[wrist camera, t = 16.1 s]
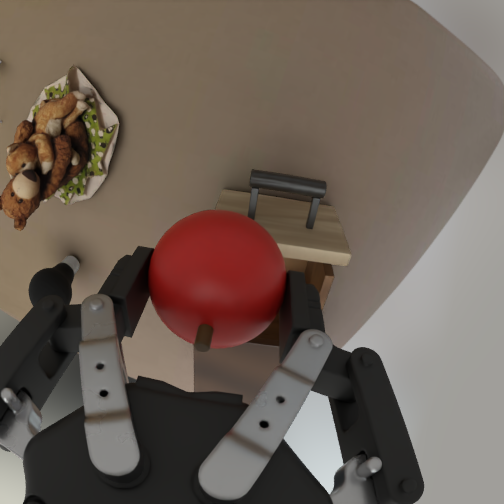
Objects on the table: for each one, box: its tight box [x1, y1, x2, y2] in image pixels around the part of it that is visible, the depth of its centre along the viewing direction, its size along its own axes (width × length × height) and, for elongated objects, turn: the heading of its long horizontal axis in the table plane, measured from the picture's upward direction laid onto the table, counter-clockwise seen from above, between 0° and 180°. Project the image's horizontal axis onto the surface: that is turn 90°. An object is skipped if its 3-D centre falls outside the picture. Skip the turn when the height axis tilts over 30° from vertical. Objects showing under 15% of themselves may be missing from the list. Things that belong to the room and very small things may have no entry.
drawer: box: [215, 169, 351, 341], centre depth 30 cm, size 18×11×9 cm, turn 172°
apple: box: [148, 210, 287, 352], centre depth 14 cm, size 6×6×7 cm
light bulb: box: [29, 256, 79, 306], centre depth 34 cm, size 6×6×10 cm
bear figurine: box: [0, 65, 119, 231], centre depth 24 cm, size 14×15×12 cm
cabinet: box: [194, 338, 281, 405], centre depth 37 cm, size 15×13×11 cm
